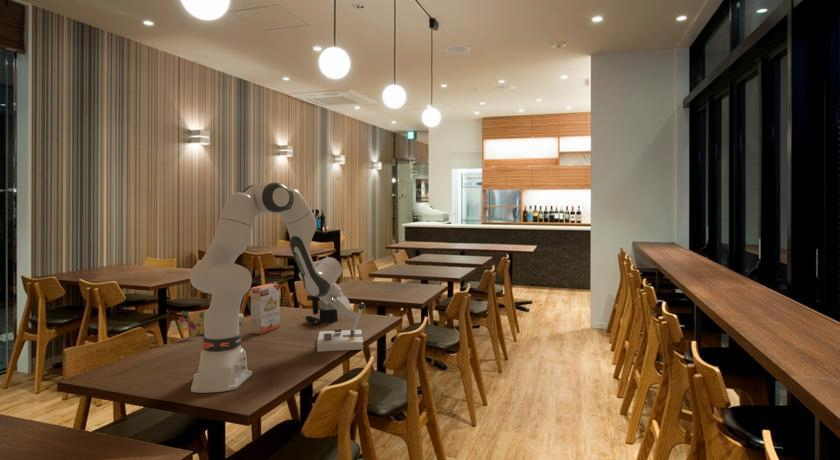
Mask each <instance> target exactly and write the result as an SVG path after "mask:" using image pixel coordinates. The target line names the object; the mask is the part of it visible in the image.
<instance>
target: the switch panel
mask: <svg viewBox="0 0 840 460" xmlns="http://www.w3.org/2000/svg"><path fill="white" fill-rule="evenodd" d="M351 330H352V329H345V330H342V329H341V332H335V330H322V331H319V333H318V336H317V337H318V338H317V341H316V352H334V351H335V352H337V351H338V352H339V351H355V350H357V351H358V350H364V340H363V332H362V329H355V334H354V335H351V334H350V331H351ZM327 333H330V334H332V339H330V340H324V334H327Z"/></svg>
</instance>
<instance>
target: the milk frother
mask: <svg viewBox="0 0 840 460" xmlns="http://www.w3.org/2000/svg"><path fill="white" fill-rule="evenodd" d="M311 305H312V313H313V315H317V314H319V318H317V317H314V316H311V315H307V316H305V321H306V322H307V323H309V324H311V325H312V326H314V325H320V323H336V322H338V321H339V317H338V314H339V312H338V311H337V310H336V309H335V308H334V307H333V306H332V305H331V304H330V303H329V304H327V305H326V304H325V303H324V302H323V301H322V300H321V299H320V298H319V297H313V296H311Z"/></svg>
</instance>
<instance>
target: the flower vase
mask: <svg viewBox="0 0 840 460" xmlns="http://www.w3.org/2000/svg"><path fill="white" fill-rule="evenodd" d="M181 313H182V316H180V317H179V318H178V321H177V323H178V325H177V327H176V329H180V328H181V326H183V324H186V323H187V322H188V323H187V327H188V329H189V330H190V331H192V332H195V331H196V333H195V336H198V335H199V334H201V329H198V330H197V327H201V326H202V328H204V325H202V323H203V324H204V314H205V312H202V311H200V313H199V317H200V318H201V319H199V320H198V319H194V321H199V322H198V323H195V322H194V321H193V320H191V319H188V315H189V312H185V311H184V310H182V312H181ZM244 316H245V315H244V314H243V313H241V312H239V324H242V323H243V322H244V319H245V317H244ZM185 317H186V318H185ZM185 321H186V322H185ZM202 332H203V333H204V329H202Z"/></svg>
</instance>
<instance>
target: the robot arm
mask: <svg viewBox="0 0 840 460" xmlns="http://www.w3.org/2000/svg"><path fill="white" fill-rule="evenodd" d="M275 213H276V214H277V213H278V214H279V215H280V216H281V219H282V220H283V222H284V224H285V226H286V228H287V232H288V236H289V247H290V250H291V252H292V255H293V258H294V260H295V263H296V266H297V268H298V270H299V272H298V276H299V277H298V278H300V280H301V281H302V283H303V289H305V292H306V293H308V295H310V296H311V297H318V299H319V300H320V299H321V300H322V301H323V302H324V303H325V304H326V305H327V304H329V303H330V304H331V305H332V306H333V307H334V308H335V309H336V310H337V313H338V314H340V315H341V316H342V317H344V318H346V317H347V316H350V317H351V318H352V319H354V320H355V318H356V315H357V313H356V312H355V311H354V310H353V309H352V307H351V305H350V300H349V299H348V297H347V296H346V295H345V294H344V293H343V292H342V291H343V290H342V288H341V287H340V286H339V285H338V283H336V282H337V280H338V279H339V278H340V276H341V274H342V272H343V266H342V264H341V262H340V261H339V260H338V259H337V258H335V257H332V256H326V257H325V258H322V259H320V260H316V261H313V258H312V256H311V253H310V252H311V251H310V248H311V243H312V240H313V237H314V235H315V233H316V230H317V225H318V223H317V219H316V216H315V214H314V212H313V210H312V209H311V206H310V205H309V204H308V202H307V200H306V199H305V198H304V196H303V195H302V194H301V192H299V190H298V189H296V188H294V187H291V188H289V187H287V186H286V185H284V184H282V183H281V182H261V183H257V184H251V185H249V186H248V187H246V188H244V190H243V191H242V192H234V193H231V195H230V196H228V198H227V200H226V202H225V204H224V206H223V209H222V210H221V214H220V217H219V220H218V224H217V227H216V229H215V233H214V237H213V239H212V242H211V244H210V245H209V247H208V249H207V251H206V252H205V254H204V256H203V257H202V258H201V260H200V261H199V262H197V263H196V264H194V266H193V267H191V270H190V272H189V281H190V282H189V283H190V284H191V285H192V286H193V288H195V289H197V290H198V291H200V292H202V293H204V294H211V301H210V304H209V307H208V309H207V310H205V312H204V319H203V320H204V321H203V326H204V327H203V330H204V332H203V334H204V336H203V339H202V345H201V346H202V349H203V350H201V352H200V358H199V365H198V366H197V368H196V369H197V373H195V374H194V375H193V380H192V383H191V387H190V392H192V393H198V394H199V393H201V394H205V393H208V394H210V393H221V392H229V391H233V390H236V389H238V388H239V387H240V386H241V385H242V384H243V383H244V382H246V381H247V379H249V378H250V377H251V376H252V375H253V371H252V370H249V369H248V363H247V361H248V360H247V351H246V350H245V349H244V348H243V347H242V346H241V344H242V335H241V334H242V333H240V323H239V313H240V310H241V304H242V300H243V298H244V296H245V294H246V293H248V291H250V290H251V288H252V284H253V283H252V281H253V277H252V273H251V272H250V271H249V270H248V269H247V267H244V266H242V265H240V264H237V263H235V262H236V261H237V259H238V257H239V256H240V255H241V254H243V253H244V252H245V251H246V250H247V247H248V244H249V240H250V237H251V234H252V230H253V226H254V221H255V219H256V217H257V215H258V214H263V215H264V214H265V215H270V214H275Z"/></svg>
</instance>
